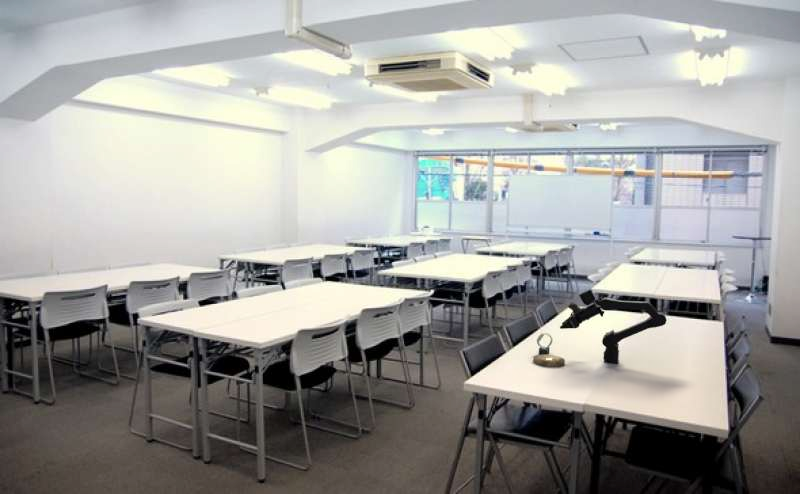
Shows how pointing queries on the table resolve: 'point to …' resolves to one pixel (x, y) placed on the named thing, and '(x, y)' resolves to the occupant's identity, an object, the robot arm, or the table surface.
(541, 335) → the watch
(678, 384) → the table surface
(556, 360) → the round dish
